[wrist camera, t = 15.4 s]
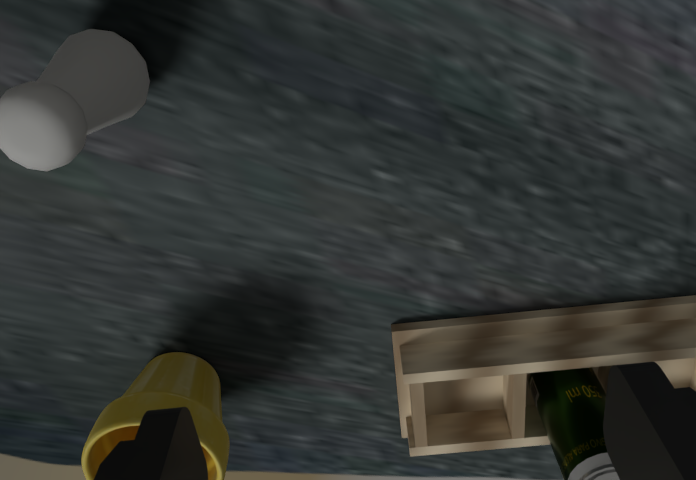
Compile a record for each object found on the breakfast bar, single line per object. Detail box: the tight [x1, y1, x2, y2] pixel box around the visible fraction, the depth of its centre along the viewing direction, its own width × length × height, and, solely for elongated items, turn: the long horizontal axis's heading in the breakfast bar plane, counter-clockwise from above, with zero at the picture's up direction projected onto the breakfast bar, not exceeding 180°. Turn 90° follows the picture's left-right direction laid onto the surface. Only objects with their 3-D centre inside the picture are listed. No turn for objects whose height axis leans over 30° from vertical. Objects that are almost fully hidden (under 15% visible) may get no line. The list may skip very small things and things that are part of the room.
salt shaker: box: [0, 29, 150, 171], centre depth 36 cm, size 6×6×13 cm
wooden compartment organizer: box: [391, 295, 696, 456], centre depth 53 cm, size 27×12×4 cm, turn 96°
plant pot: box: [82, 352, 229, 480], centre depth 51 cm, size 10×10×10 cm
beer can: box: [529, 367, 620, 480], centre depth 48 cm, size 5×5×12 cm
